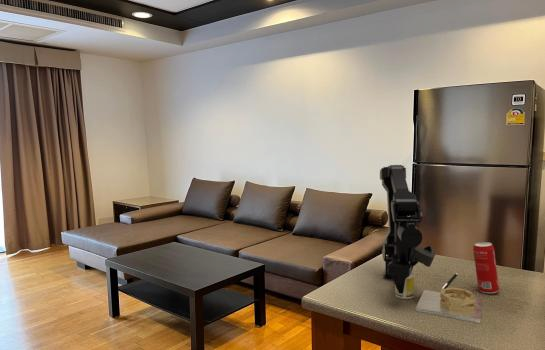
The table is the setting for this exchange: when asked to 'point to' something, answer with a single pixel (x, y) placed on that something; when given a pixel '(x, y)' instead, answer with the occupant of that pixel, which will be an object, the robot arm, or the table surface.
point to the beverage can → (486, 267)
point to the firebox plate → (451, 304)
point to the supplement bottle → (407, 288)
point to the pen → (449, 282)
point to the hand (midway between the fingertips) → (404, 287)
